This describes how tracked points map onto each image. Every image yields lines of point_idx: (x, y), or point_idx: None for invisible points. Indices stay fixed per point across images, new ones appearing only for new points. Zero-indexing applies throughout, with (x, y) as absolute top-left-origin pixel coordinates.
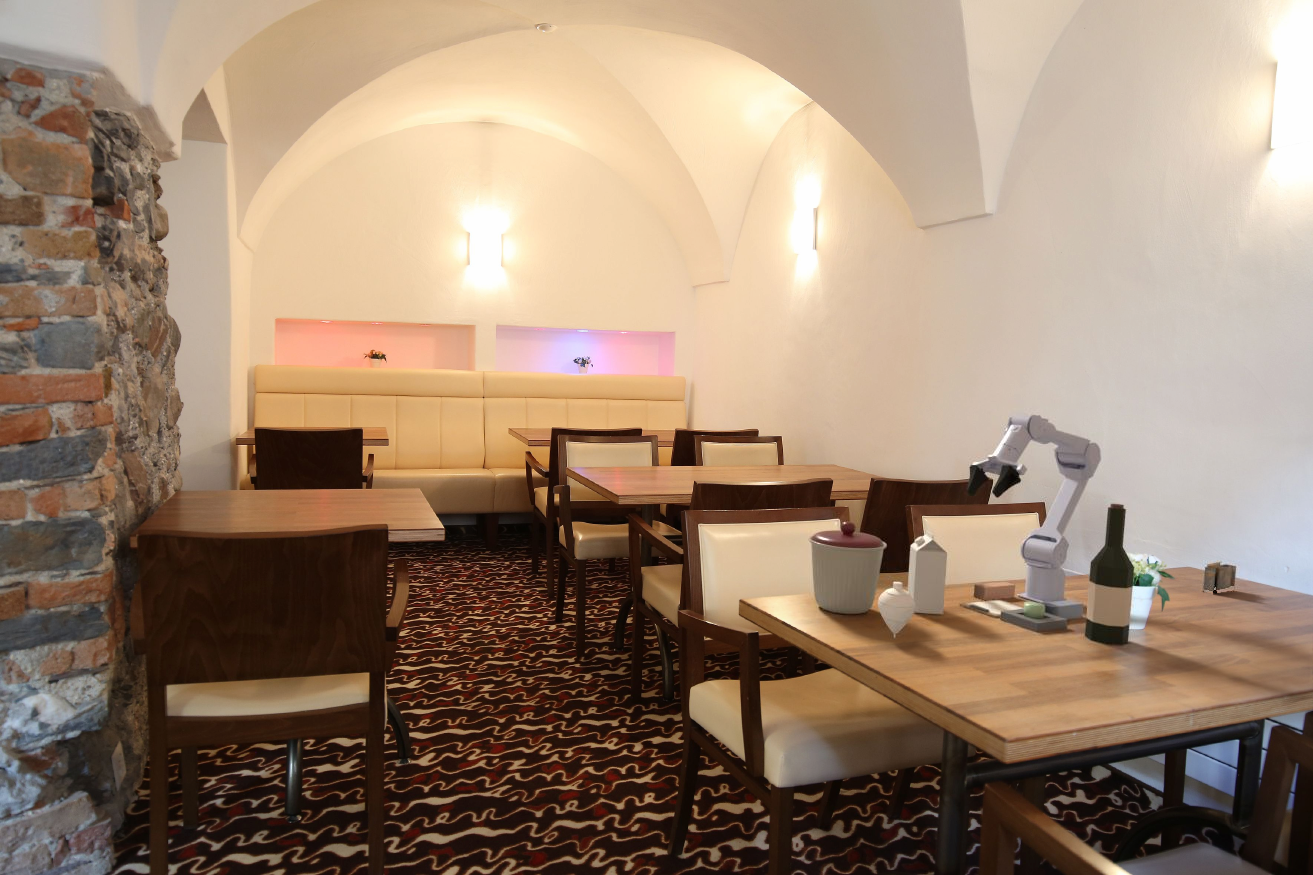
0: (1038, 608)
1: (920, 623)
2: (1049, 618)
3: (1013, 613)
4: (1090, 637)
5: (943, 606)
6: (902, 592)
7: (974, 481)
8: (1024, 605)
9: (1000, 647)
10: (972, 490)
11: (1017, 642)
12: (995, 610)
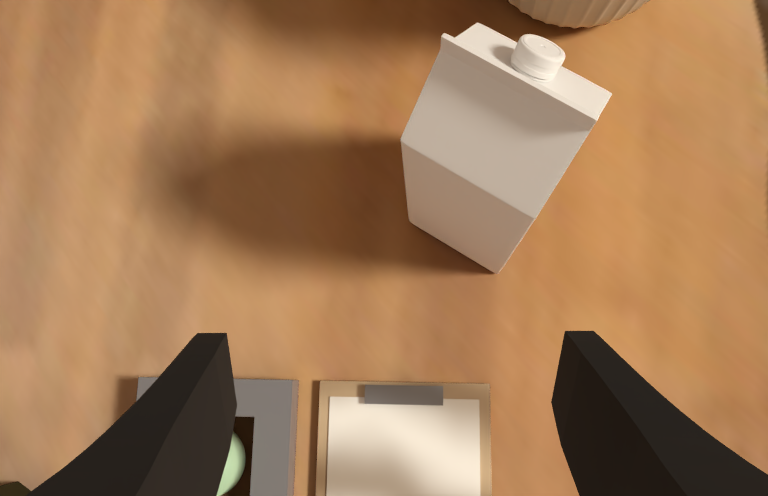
0: None
1: (361, 82)
2: None
3: (254, 402)
4: (17, 485)
5: (408, 213)
6: None
7: (622, 461)
8: None
9: (103, 134)
10: (568, 402)
11: (111, 221)
12: (367, 440)
